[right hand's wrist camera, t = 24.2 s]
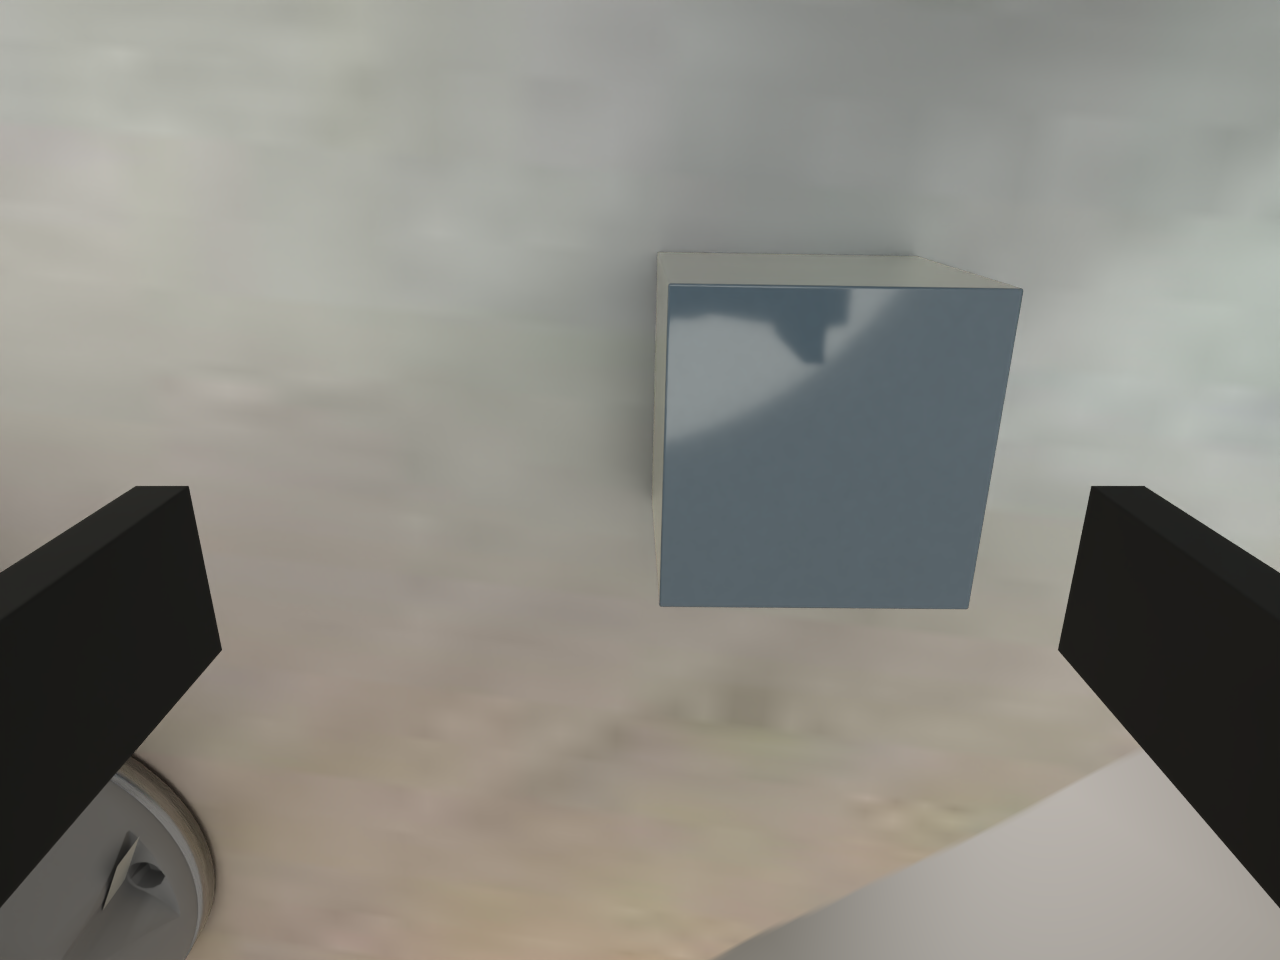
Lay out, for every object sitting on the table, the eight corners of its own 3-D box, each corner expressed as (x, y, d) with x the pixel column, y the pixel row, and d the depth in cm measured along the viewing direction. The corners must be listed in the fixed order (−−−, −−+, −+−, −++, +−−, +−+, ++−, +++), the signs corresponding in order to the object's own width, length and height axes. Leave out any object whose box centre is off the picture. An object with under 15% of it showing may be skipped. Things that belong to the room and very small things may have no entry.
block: (886, 503, 32) (968, 610, 24) (651, 500, 31) (659, 607, 24) (918, 255, 28) (1024, 288, 21) (657, 251, 28) (668, 283, 21)
